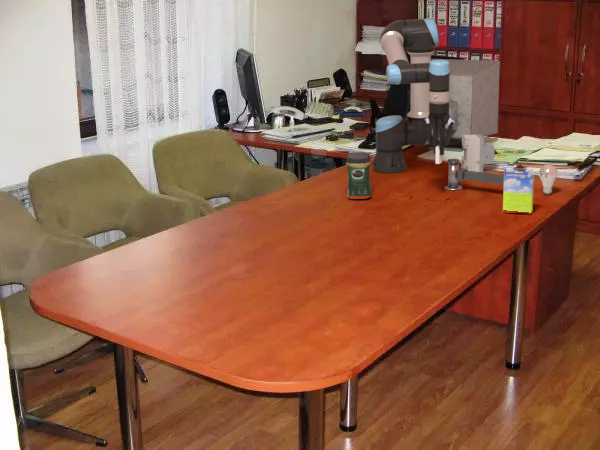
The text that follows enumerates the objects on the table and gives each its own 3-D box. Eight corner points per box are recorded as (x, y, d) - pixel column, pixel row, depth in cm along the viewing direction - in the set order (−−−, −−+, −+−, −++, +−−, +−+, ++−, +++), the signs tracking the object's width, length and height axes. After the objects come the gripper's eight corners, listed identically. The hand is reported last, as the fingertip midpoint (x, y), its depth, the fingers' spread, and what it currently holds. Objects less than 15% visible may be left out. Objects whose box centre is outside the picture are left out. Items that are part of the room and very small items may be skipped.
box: (532, 212, 301) (534, 166, 296) (532, 215, 298) (534, 169, 292) (503, 210, 305) (504, 165, 299) (502, 214, 301) (503, 168, 295)
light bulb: (557, 192, 323) (559, 163, 319) (555, 197, 317) (556, 167, 313) (539, 191, 325) (541, 161, 322) (536, 196, 320) (538, 166, 316)
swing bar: (457, 180, 329) (457, 167, 327) (462, 177, 333) (463, 164, 331) (509, 187, 317) (510, 173, 315) (514, 184, 320) (515, 170, 319)
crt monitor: (498, 141, 409) (500, 60, 396) (470, 158, 379) (472, 71, 367) (433, 136, 427) (433, 58, 414) (401, 152, 397) (400, 68, 385)
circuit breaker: (497, 171, 356) (498, 137, 352) (464, 172, 357) (464, 138, 352) (493, 167, 363) (494, 133, 359) (461, 168, 364) (461, 135, 359)
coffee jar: (372, 195, 331) (371, 150, 325) (370, 201, 324) (369, 154, 318) (348, 195, 333) (347, 150, 327) (346, 200, 326) (344, 154, 320)
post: (441, 190, 333) (442, 161, 329) (448, 185, 339) (448, 157, 335) (458, 192, 329) (458, 163, 326) (464, 187, 335) (465, 159, 331)
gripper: (419, 102, 311) (419, 163, 318) (451, 104, 304) (450, 166, 311) (427, 99, 317) (427, 159, 324) (459, 101, 310) (458, 162, 317)
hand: (438, 162), depth 318 cm, fingers closed
